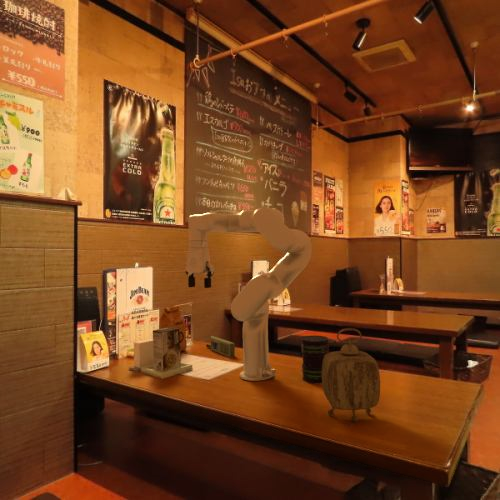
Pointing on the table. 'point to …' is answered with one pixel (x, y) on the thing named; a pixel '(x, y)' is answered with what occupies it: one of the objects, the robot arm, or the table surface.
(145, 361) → the panel unit
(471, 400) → the table surface
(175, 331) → the coffee box
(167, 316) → the coffee package
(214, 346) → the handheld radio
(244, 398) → the table surface
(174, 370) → the tray
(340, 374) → the tabletop clock
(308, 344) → the storage jar
